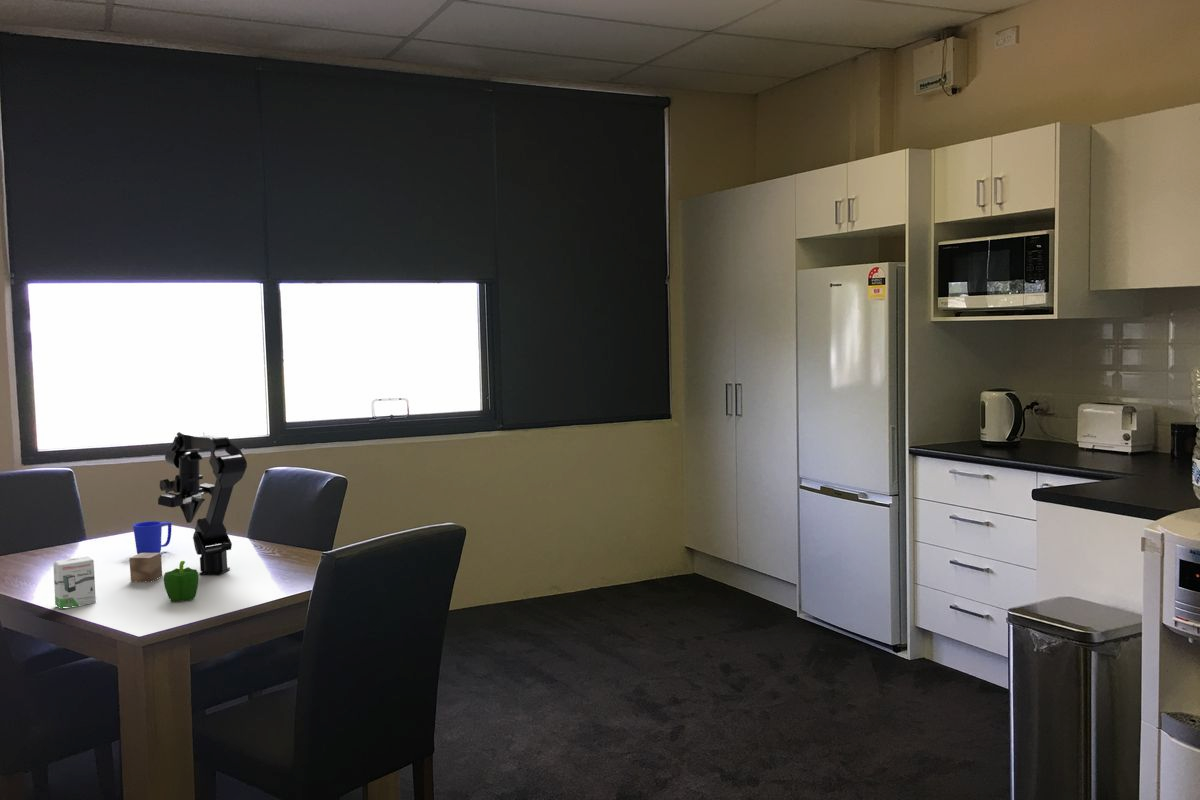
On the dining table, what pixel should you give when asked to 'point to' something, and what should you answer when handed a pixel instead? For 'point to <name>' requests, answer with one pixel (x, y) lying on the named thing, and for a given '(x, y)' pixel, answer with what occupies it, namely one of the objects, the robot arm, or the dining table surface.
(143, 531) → the mug
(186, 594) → the bell pepper
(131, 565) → the walnut block
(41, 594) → the dining table surface
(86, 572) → the ink box
